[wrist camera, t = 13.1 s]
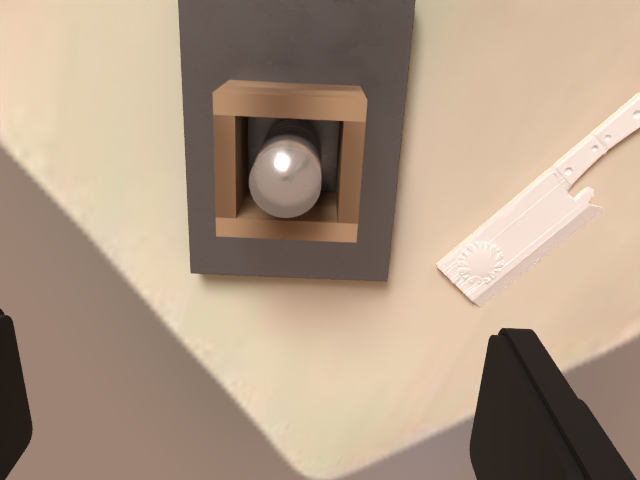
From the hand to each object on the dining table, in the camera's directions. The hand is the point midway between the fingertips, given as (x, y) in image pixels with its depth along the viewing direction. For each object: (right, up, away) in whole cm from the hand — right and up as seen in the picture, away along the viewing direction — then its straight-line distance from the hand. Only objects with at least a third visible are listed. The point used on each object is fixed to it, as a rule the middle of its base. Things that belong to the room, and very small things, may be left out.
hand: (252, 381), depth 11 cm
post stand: (0, +8, +22) cm, 23 cm away
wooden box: (0, +8, +20) cm, 22 cm away
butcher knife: (+16, +5, +24) cm, 29 cm away
